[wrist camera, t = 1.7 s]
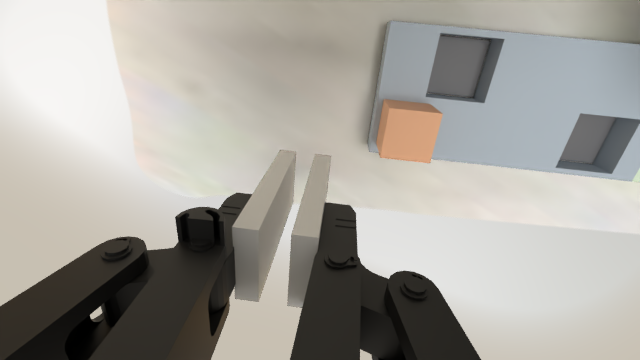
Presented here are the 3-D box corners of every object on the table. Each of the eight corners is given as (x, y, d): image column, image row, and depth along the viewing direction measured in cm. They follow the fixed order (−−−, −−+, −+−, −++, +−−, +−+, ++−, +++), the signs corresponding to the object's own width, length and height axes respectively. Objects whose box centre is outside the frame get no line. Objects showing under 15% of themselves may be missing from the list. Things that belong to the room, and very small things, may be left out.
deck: (367, 143, 31) (370, 161, 26) (387, 22, 26) (395, 18, 21) (673, 177, 29) (732, 202, 25) (751, 57, 25) (842, 60, 20)
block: (376, 142, 28) (380, 157, 24) (383, 99, 26) (389, 108, 23) (419, 147, 28) (429, 163, 24) (429, 103, 26) (443, 113, 22)
